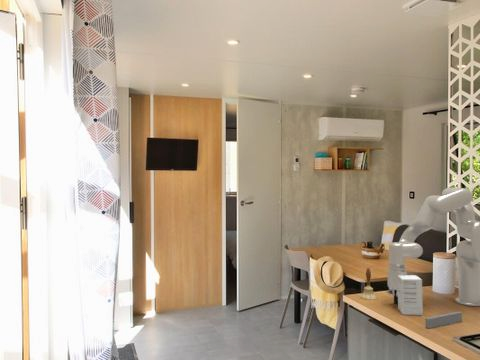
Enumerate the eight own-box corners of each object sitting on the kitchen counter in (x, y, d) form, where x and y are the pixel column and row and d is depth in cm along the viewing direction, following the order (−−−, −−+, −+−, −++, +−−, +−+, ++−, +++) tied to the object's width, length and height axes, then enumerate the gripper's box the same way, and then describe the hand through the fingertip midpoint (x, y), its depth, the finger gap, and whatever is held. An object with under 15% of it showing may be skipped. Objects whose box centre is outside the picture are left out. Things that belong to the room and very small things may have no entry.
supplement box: (423, 315, 186) (422, 279, 186) (402, 315, 187) (402, 279, 187) (417, 308, 196) (416, 274, 196) (397, 308, 197) (396, 274, 197)
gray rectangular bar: (458, 320, 179) (458, 311, 179) (461, 321, 178) (461, 312, 178) (425, 327, 172) (425, 318, 172) (428, 328, 170) (428, 319, 170)
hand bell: (380, 298, 214) (379, 268, 214) (368, 300, 210) (368, 270, 210) (368, 294, 221) (368, 266, 221) (357, 296, 217) (356, 267, 217)
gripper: (414, 269, 194) (414, 307, 194) (392, 263, 208) (392, 298, 208) (402, 271, 191) (403, 309, 192) (380, 265, 205) (381, 300, 205)
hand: (397, 303), depth 200 cm, fingers closed
